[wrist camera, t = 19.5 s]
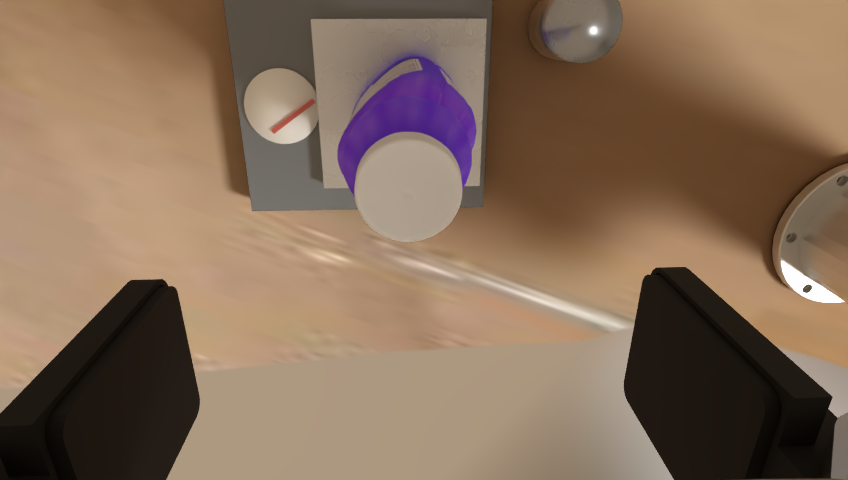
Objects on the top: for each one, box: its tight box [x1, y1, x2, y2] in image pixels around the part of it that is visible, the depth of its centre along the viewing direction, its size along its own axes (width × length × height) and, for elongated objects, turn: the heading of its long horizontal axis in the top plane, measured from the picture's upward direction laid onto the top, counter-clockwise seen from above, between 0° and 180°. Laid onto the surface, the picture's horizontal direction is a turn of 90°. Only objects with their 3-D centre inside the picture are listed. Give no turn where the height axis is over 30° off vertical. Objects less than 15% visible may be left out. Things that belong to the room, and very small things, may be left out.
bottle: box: [337, 56, 477, 242], centre depth 28 cm, size 7×6×17 cm
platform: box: [311, 18, 487, 188], centre depth 36 cm, size 11×11×1 cm
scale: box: [223, 0, 493, 211], centre depth 37 cm, size 17×15×3 cm
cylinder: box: [528, 0, 622, 63], centre depth 34 cm, size 4×4×6 cm
